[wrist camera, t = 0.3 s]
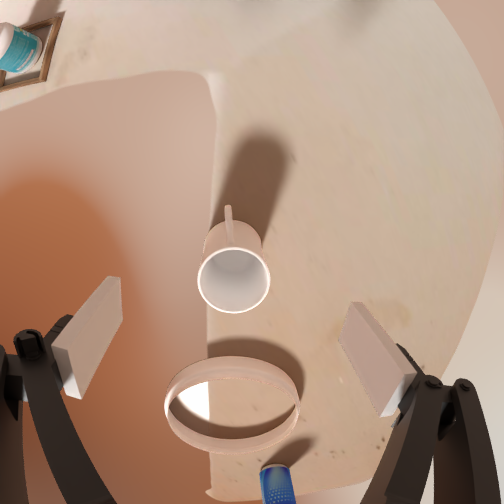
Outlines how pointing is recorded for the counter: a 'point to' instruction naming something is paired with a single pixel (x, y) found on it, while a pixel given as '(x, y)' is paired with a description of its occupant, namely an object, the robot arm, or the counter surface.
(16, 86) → the frame
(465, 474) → the robot arm
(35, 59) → the pill bottle
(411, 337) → the counter surface
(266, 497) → the beer can
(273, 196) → the counter surface
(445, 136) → the counter surface
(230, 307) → the mug
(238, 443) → the white hollow ring
